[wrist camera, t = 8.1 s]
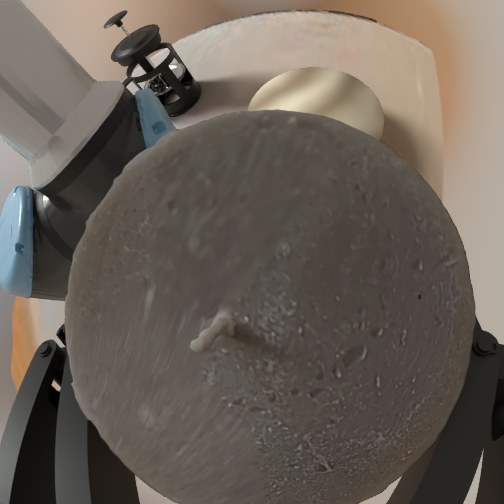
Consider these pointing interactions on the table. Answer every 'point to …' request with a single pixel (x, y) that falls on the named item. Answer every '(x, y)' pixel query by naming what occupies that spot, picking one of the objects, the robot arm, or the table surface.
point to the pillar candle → (269, 313)
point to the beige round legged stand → (323, 98)
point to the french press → (158, 77)
